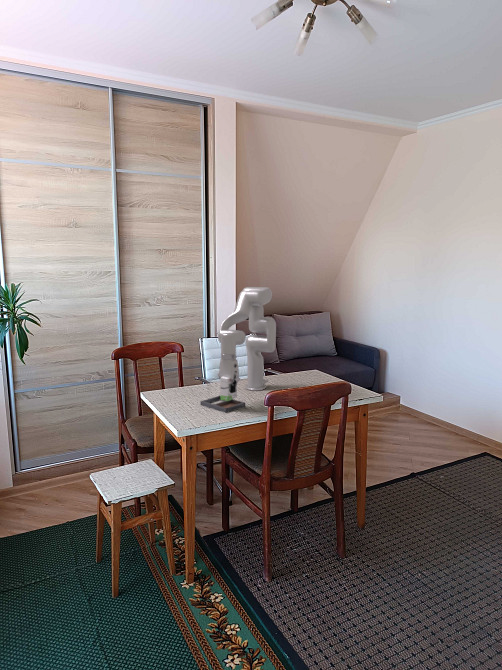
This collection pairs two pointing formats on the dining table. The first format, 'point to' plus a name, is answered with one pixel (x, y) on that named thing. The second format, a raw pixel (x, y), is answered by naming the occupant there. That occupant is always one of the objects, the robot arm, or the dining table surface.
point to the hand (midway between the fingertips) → (228, 391)
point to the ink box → (226, 389)
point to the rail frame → (223, 404)
